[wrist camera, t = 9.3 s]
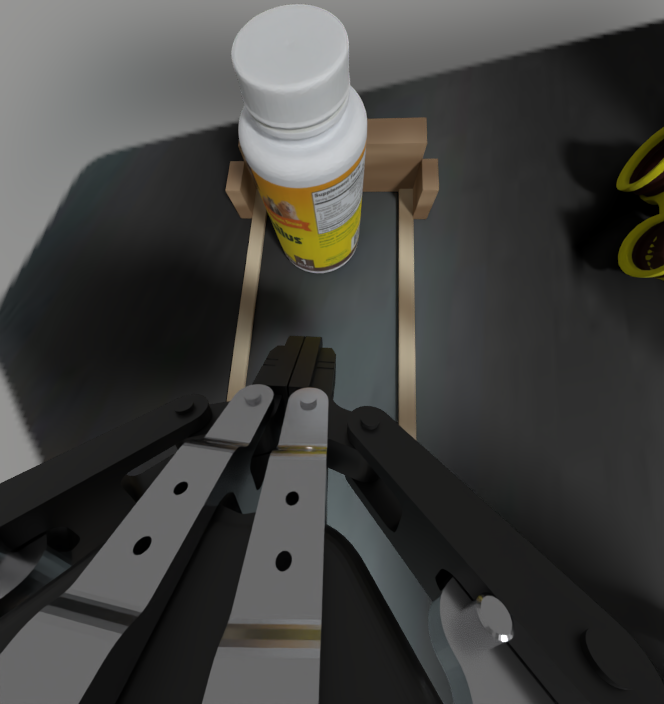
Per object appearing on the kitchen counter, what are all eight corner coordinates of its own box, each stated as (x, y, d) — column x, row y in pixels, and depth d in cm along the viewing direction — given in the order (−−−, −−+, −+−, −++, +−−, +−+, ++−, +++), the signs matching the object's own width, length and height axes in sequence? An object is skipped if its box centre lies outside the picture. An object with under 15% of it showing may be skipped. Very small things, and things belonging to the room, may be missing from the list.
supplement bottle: (271, 232, 18) (181, 28, 8) (334, 198, 19) (321, -38, 9) (305, 291, 17) (248, 136, 7) (372, 254, 17) (408, 56, 7)
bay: (432, 472, 14) (460, 495, 11) (205, 455, 15) (164, 471, 12) (424, 169, 19) (442, 117, 15) (248, 171, 20) (227, 122, 16)
